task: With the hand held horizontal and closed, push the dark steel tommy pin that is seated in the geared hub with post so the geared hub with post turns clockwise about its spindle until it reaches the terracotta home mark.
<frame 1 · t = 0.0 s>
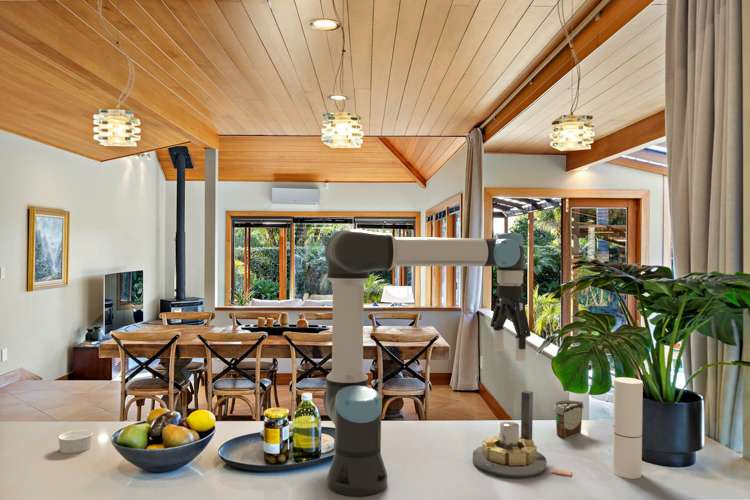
hand: (509, 355, 168), 28 cm above the kitchen counter, tool pointing down, fingers open, 13 cm apart
geared hub with post: (513, 425, 158), point 10 cm above the kitchen counter, hinge at 35.0°
ramekin: (75, 450, 164), on the kitchen counter
cylindrical container: (626, 473, 151), on the kitchen counter
food container: (564, 434, 182), on the kitchen counter
flange: (508, 463, 156), on the kitchen counter
home mark: (561, 473, 150), on the kitchen counter
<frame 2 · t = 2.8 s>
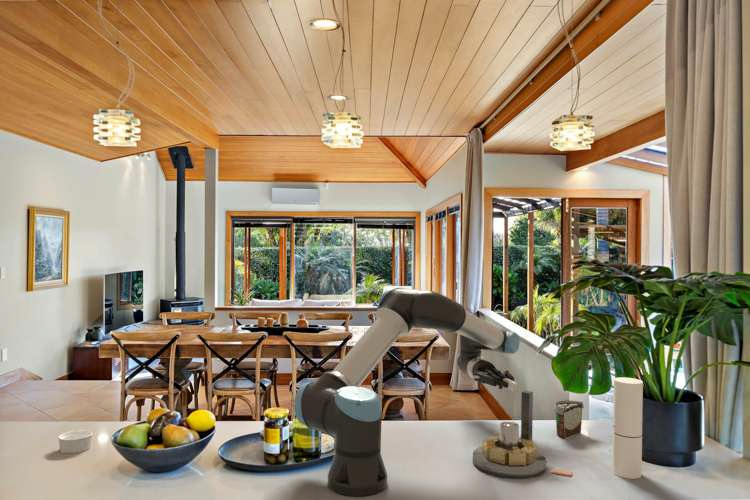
hand: (515, 387, 171), 17 cm above the kitchen counter, tool horizontal, fingers closed
nothing on the kitchen counter moved.
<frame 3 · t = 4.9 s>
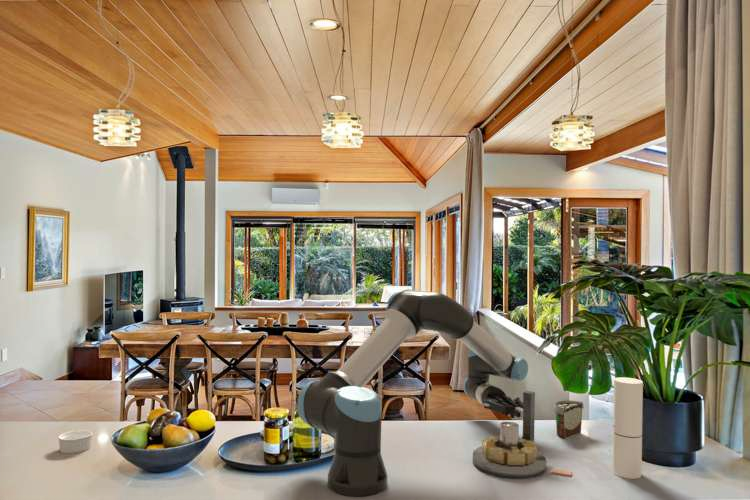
hand: (528, 417, 166), 10 cm above the kitchen counter, tool horizontal, fingers closed
geared hub with post: (514, 425, 158), point 10 cm above the kitchen counter, hinge at 31.9°, touching gripper
everything else where it was.
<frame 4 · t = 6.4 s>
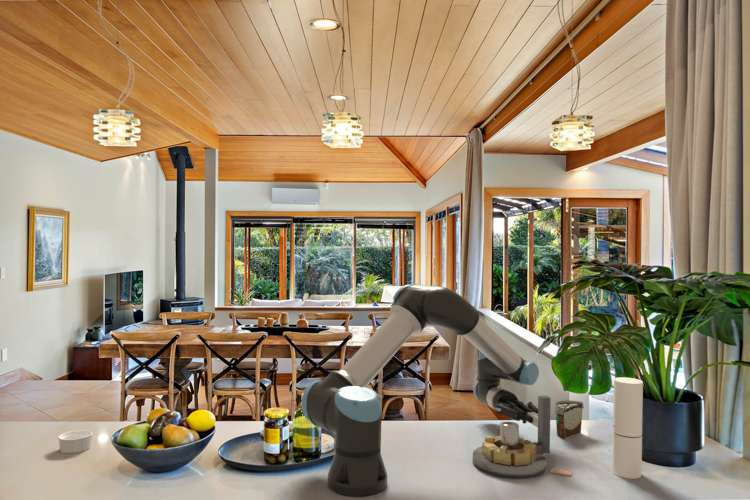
hand: (542, 423, 161), 10 cm above the kitchen counter, tool horizontal, fingers closed, pressing on geared hub with post
geared hub with post: (517, 426, 157), point 10 cm above the kitchen counter, hinge at 1.7°, touching gripper
everything else where it was.
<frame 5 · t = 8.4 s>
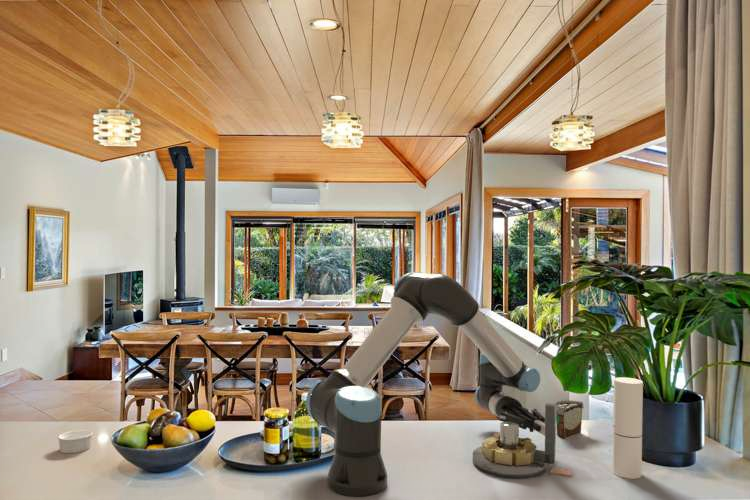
hand: (549, 432, 153), 10 cm above the kitchen counter, tool horizontal, fingers closed
geared hub with post: (518, 428, 155), point 10 cm above the kitchen counter, hinge at -40.6°, touching gripper
everything else where it was.
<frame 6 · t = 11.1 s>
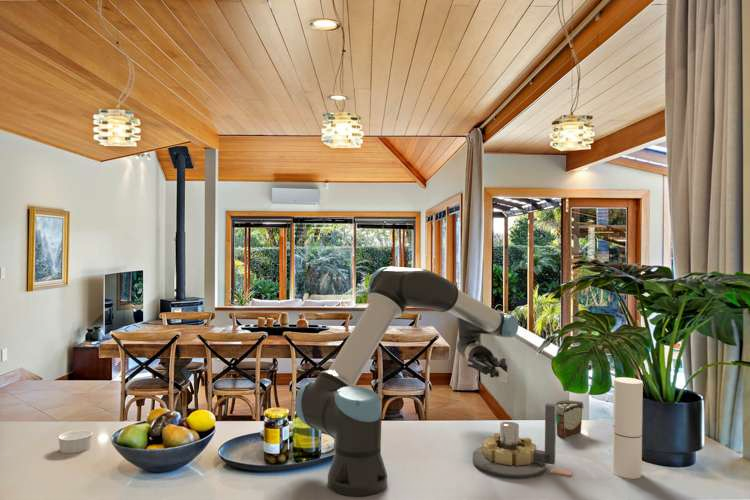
hand: (505, 377, 165), 22 cm above the kitchen counter, tool horizontal, fingers closed
geared hub with post: (518, 428, 155), point 10 cm above the kitchen counter, hinge at -40.6°
everything else where it was.
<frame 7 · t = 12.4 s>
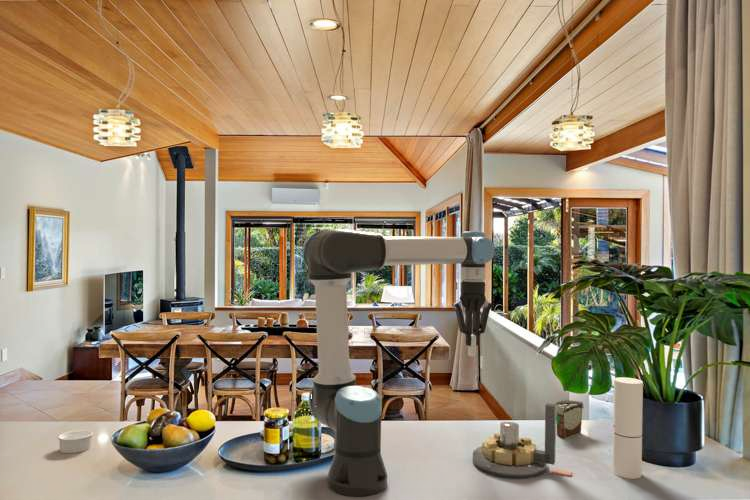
hand: (471, 355, 176), 26 cm above the kitchen counter, tool pointing down, fingers closed
nothing on the kitchen counter moved.
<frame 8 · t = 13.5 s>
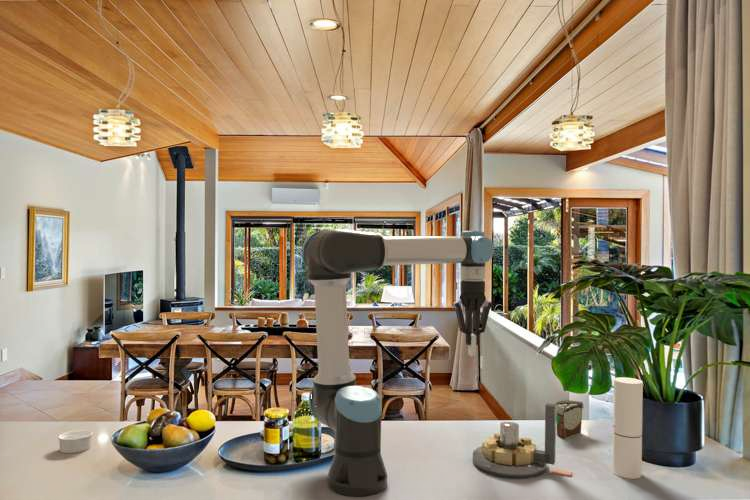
hand: (471, 355, 176), 26 cm above the kitchen counter, tool pointing down, fingers closed
nothing on the kitchen counter moved.
at the end: geared hub with post at -41° (first picture: +35°) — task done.
